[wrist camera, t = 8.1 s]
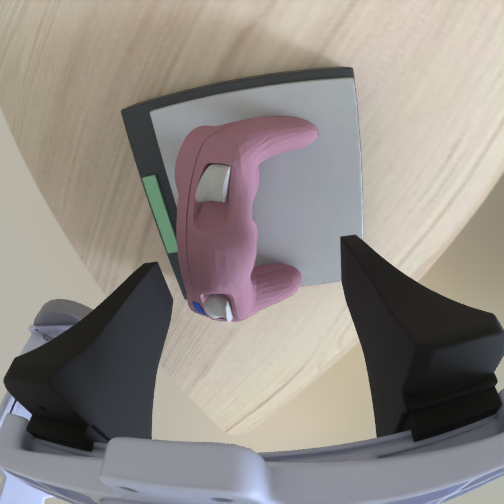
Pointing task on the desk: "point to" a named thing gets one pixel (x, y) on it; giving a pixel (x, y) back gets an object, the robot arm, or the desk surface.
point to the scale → (266, 164)
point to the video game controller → (230, 215)
